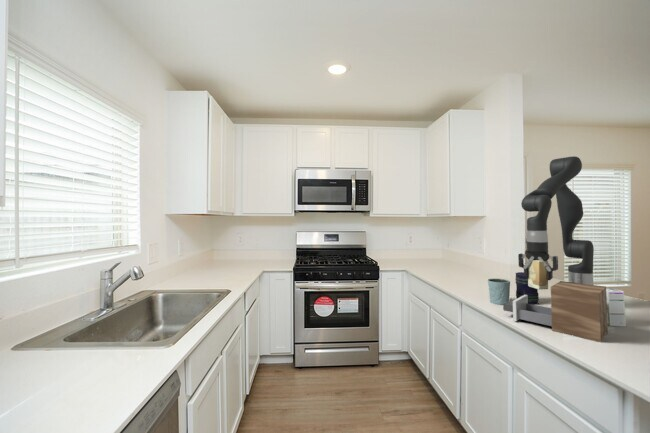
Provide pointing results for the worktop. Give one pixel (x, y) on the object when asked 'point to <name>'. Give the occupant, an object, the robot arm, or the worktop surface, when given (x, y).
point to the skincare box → (537, 275)
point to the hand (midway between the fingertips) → (537, 278)
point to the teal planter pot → (499, 290)
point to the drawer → (528, 311)
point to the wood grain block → (579, 310)
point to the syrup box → (615, 307)
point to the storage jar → (526, 289)
